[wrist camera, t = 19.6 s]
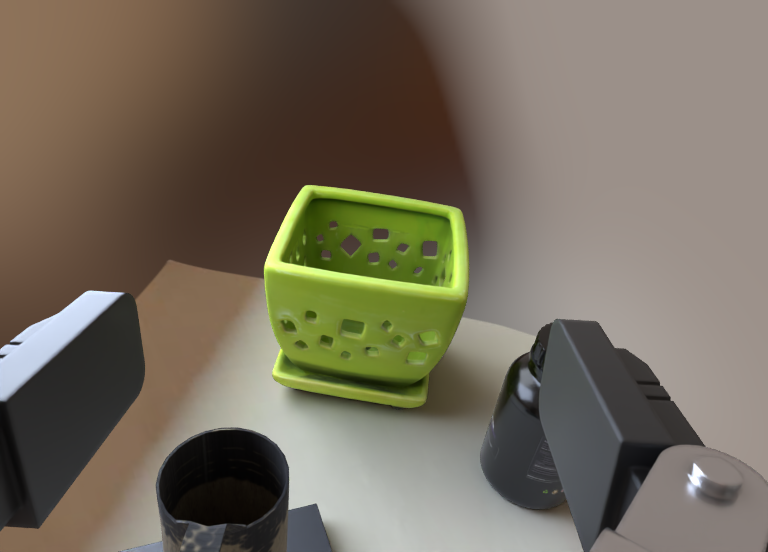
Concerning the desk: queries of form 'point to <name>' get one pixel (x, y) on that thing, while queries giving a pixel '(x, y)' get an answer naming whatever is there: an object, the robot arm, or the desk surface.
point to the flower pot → (365, 295)
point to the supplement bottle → (522, 436)
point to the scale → (303, 534)
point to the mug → (224, 494)
